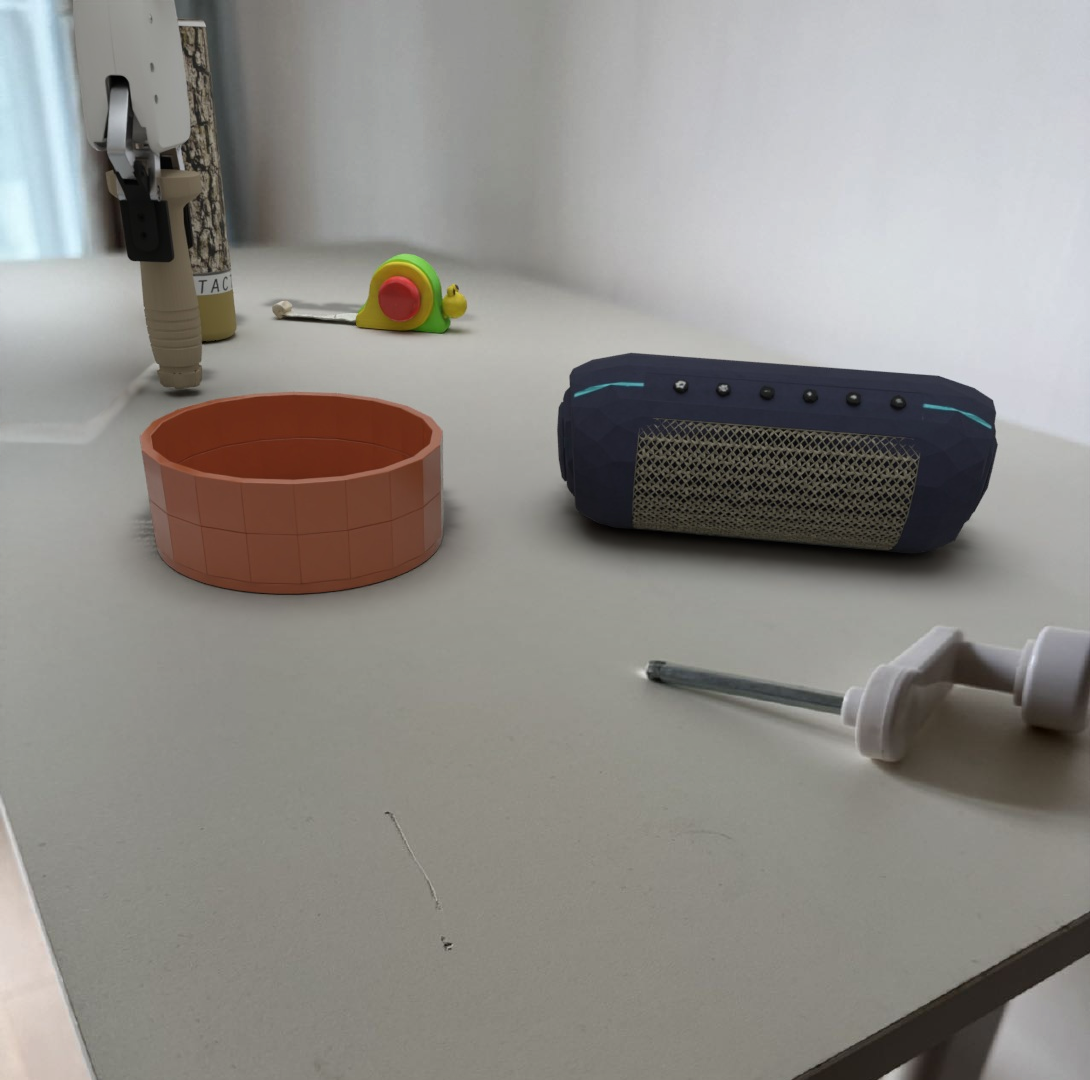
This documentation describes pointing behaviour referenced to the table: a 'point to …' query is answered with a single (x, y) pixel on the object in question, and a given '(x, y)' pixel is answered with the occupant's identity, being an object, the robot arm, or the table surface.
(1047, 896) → the table surface
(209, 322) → the paper tube
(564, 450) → the portable speaker
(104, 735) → the table surface
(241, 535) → the bowl
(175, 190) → the handle
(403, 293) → the toy measuring tape
